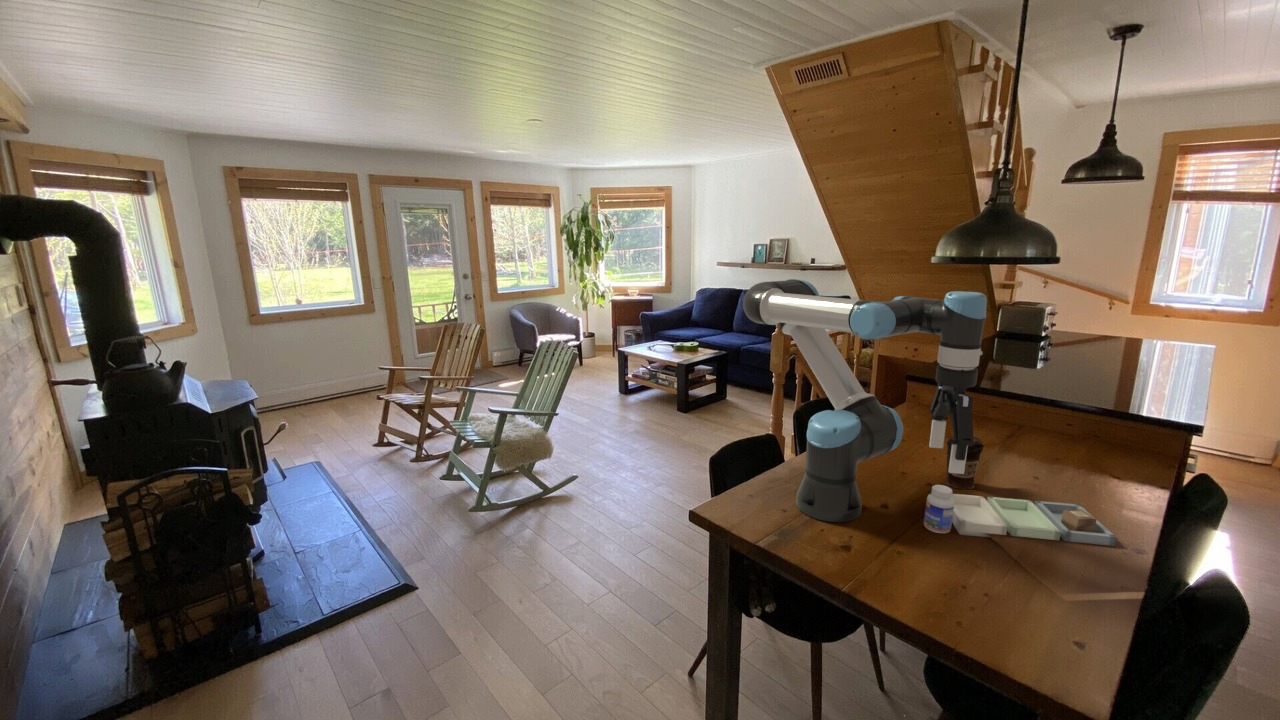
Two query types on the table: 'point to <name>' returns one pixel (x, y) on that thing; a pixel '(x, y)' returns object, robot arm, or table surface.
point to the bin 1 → (976, 517)
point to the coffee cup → (970, 466)
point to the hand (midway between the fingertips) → (945, 459)
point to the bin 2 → (1098, 537)
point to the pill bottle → (939, 509)
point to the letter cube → (1078, 520)
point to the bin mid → (1024, 518)
